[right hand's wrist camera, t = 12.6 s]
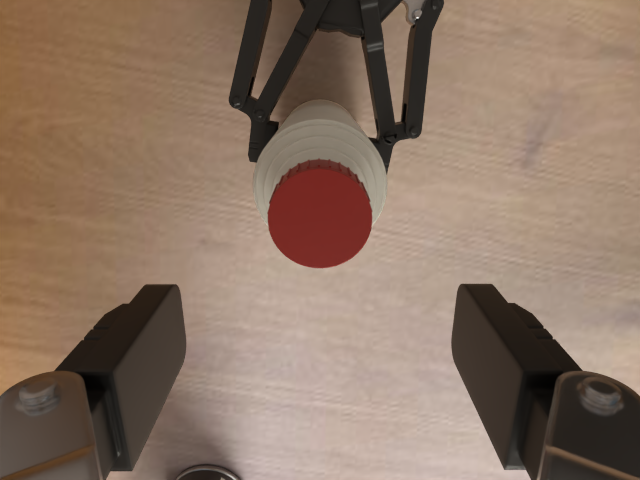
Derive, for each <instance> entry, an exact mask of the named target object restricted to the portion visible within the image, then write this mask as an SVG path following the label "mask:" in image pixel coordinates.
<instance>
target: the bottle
mask: <svg viewBox="0 0 640 480" xmlns="http://www.w3.org/2000/svg"><path fill="white" fill-rule="evenodd" d="M318 158H320V159H322V160H329V159H330V160H331V161H334V162H337V163H339V162H340V163H341V164H342V165H344V166H345V167H347V168H348V167H349V168H350V170H351V171H352V172H353V173H354V174H357V176H358V178H359V180H360V181H361V182H363V184H364V187H365V189H366V191H367V193H368V196H369V198H370V201H371V202H370V205H371V208H372V211H373V212H372V226H373V225H374V223H375V222H376V220H377V219H378V217H379V215H380V213H381V211H382V209H383V206H384V203H385V199H386V195H387V175H386V170H385V166H384V163H383V160H382V158H381V156H380V154H379V152H378V151H377V149H376V148H375V146H374V145H373V143H372V142H371V141H370V140H369V138H368V137H367V136H366V134H365V133H364V132H363V130H362V129H361V128H360V126H359V125H358V124H357V122H356V121H355V120H354V118H353V117H352V116H351V114H350V113H349V112H348V111H347V110H346V109H345V108H344V107H342V106H341V105H339V104H337V103H335V102H333V101H329V100H324V99H317V100H311V101H307V102H305V103H303V104H301V105H299V106H298V107H296V108H295V109H294V110H293V111H292V112H291V113H290V115H289V116H288V117H287V119H286V120H285V121H284V122H283V124H282V125H281V126H280V128H279V129H278V130H277V132H276V133H275V134H274V136H273V137H272V138H271V140H270V141H269V142H268V144H267V145H266V146H265V148H264V149H263V151H262V152H261V154H260V156H259V158H258V161H257V163H256V166H255V170H254V175H253V194H254V200H255V203H256V206H257V209H258V211H259V213H260V216H261V217H262V219H263V220H264V222H265V223H266V225H267V226H268V214H267V212H268V209H269V206H270V204H269V201H270V199H271V196H272V194H273V191H274V189H275V186H276V184H278V183H279V181H280V179H281V176H282V175H283V176H284V175H285V174H286V173H287V172H288V170H289V169H290V168H291V169H292V168H293V167H295V166H296V165H297V164H298V163H303V162H306V161H308V160H317V159H318Z"/></svg>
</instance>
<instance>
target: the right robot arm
mask: <svg viewBox="0 0 640 480" xmlns="http://www.w3.org/2000/svg"><path fill="white" fill-rule="evenodd" d="M451 343H452V355H453V359H454V362H455V365H456V367H457V369H458V371H459V373H460V376H461V378H462V380H463V382H464V384H465V386H466V388H467V391H468V393H469V395H470V397H471V399H472V401H473V403H474V406H475V408H476V410H477V412H478V414H479V416H480V418H481V421H482V423H483V425H484V427H485V429H486V431H487V433H488V436H489V438H490V440H491V442H492V444H493V446H494V448H495V451H496V453H497V455H498V457H499V459H500V461H501V464H502V466H503V468H504V470H526V471H527V472H528V474H529V476H530V478H531V480H640V396H639V395H638V394H637V393H636V392H635V391H633V390H632V389H631V388H629V387H628V386H626V385H624V384H623V383H621V382H619V381H617V380H615V379H612V378H610V377H608V376H604V375H601V374H598V373H593V372H587V371H583V370H582V369H581V368H580V367H579V366H578V365H577V364H576V363H575V361H574V360H573V359H572V358H571V357H570V356H569V355H568V354H567V352H566V351H565V350H564V349H563V348H562V347H561V346H560V344H559V343H558V342H557V341H556V340H555V339H553V337H552V335H551V334H550V333H549V332H548V331H547V330H546V329H544V328H543V325H542V324H541V323H540V322H539V321H538V320H537V319H536V317H535V316H534V315H533V314H532V313H530V312H528V311H527V310H525V309H523V308H522V307H520V306H518V305H517V304H515V303H508V302H507V301H506V300H505V299H504V298H503V296H502V295H501V294H500V293H499V291H498V290H497V289H496V288H495V287H494V285H492V284H461V285H460V286H459V288H458V291H457V298H456V306H455V314H454V323H453V331H452V342H451ZM185 353H186V334H185V326H184V318H183V310H182V302H181V294H180V290H179V287H178V286H177V285H176V284H147V285H144V286H143V288H142V289H141V290H140V291H139V292H138V294H137V295H136V296H135V297H134V298H133V300H132V301H131V302H130V303H129V304H122V305H120V306H118V307H117V308H115V309H113V310H112V311H110V312H108V313H106V314H105V315H104V316H103V317H102V318H101V319H100V320H99V322H98V323H97V324H96V325H95V326H94V329H93V330H90V332H89V333H88V334H87V335H86V336H85V337H84V340H82V341H81V342H80V343H79V344H78V345H77V346H76V347H75V348H74V349H73V351H72V352H71V353H70V354H69V355H68V356H67V357H66V358H65V359H64V361H63V362H62V363H61V364H60V365H59V366H58V367H57V368H56V370H55V371H53V372H47V373H42V374H39V375H36V376H32V377H30V378H28V379H25V380H23V381H21V382H19V383H17V384H16V385H14V386H12V387H11V388H9V389H8V390H7V391H5V392H4V393H3V394H2V395H1V396H0V480H106V478H107V476H108V474H109V473H110V471H132V470H133V468H134V466H135V464H136V462H137V460H138V458H139V456H140V454H141V451H142V449H143V447H144V445H145V443H146V441H147V439H148V437H149V435H150V432H151V430H152V428H153V426H154V424H155V422H156V420H157V418H158V415H159V413H160V411H161V409H162V407H163V405H164V403H165V401H166V399H167V396H168V394H169V392H170V390H171V388H172V386H173V384H174V382H175V380H176V377H177V375H178V373H179V371H180V369H181V367H182V365H183V362H184V359H185ZM175 480H240V479H239V478H238V477H237V476H236V475H235V474H233V473H232V472H230V471H228V470H226V469H224V468H221V467H218V466H212V465H200V466H195V467H191V468H189V469H187V470H185V471H183V472H182V473H181V474H179V475H178V477H177V478H176V479H175Z"/></svg>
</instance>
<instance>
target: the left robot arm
mask: <svg viewBox="0 0 640 480" xmlns="http://www.w3.org/2000/svg"><path fill="white" fill-rule="evenodd" d="M300 3H301V5H302V7H303V9H304V11H303V13H302V15H301V17H300V19H299V21H298V23H297V25H296V27H295V29H294V32H293V34H292V36H291V37H290V39H289V41H288V43H287V45H286V47H285V49H284V51H283V53H282V55H281V57H280V58H279V60H278V62H277V64H276V66H275V68H274V70H273V72H272V74H271V76H270V78H269V79H268V81H267V83H266V85H265V87H264V89H263V91H262V93H261V95H260V97H259V99H256V98H254V97H252V96H251V93H252V89H253V85H254V81H255V77H256V72H257V68H258V64H259V60H260V56H261V52H262V48H263V44H264V39H265V35H266V31H267V27H268V23H269V19H270V14H271V9H272V0H251V3H250V7H249V12H248V16H247V20H246V25H245V29H244V34H243V38H242V43H241V47H240V51H239V56H238V60H237V65H236V69H235V74H234V78H233V82H232V87H231V91H230V96H229V103H230V105H231V106H232V107H233V108H235V109H239V110H240V111H242V112H244V113H246V114H247V115H248V116H249V117H250V119H251V133H250V143H249V152H248V156H249V160H250V162H256V163H257V161H258V158H259V156H260V154H261V152H262V151H263V149H264V148H265V146H266V145H267V144H268V142H269V141H270V140H271V138H272V137H273V136H274V134H275V133H276V132H277V130H278V126H279V122H275V121H270V115H271V113H272V111H273V109H274V107H275V106H276V104H277V102H278V100H279V98H280V96H281V94H282V93H283V91H284V89H285V87H286V85H287V83H288V81H289V80H290V78H291V76H292V74H293V72H294V70H295V68H296V67H297V65H298V63H299V61H300V59H301V57H302V55H303V54H304V52H305V50H306V48H307V46H308V44H309V43H310V41H311V39H312V38H313V36H314V34H315V32H316V30H317V29H319V31H323V32H328V33H329V32H338V31H339V32H342V33H344V34H346V35H348V36H350V37H356V38H360V37H361V43H362V48H363V52H364V57H365V63H366V69H367V75H368V81H369V87H370V93H371V99H372V105H373V111H374V117H375V123H376V129H377V138H376V139H375V138H370V137H368V138H369V140H370V141H371V142H372V143H373V145H374V146H375V148H376V149H377V151H378V152H379V154H380V156H381V158H382V160H383V163H384V166H385V170H386V175H387V171H388V167H389V162H390V158H391V153H392V149H393V146H394V144H395V143H396V142H398V141H400V140H404V139H409V138H412V139H414V138H417V137H419V135H420V134H421V131H422V121H423V112H424V103H425V93H426V84H427V75H428V65H429V56H430V46H431V37H432V31H433V28H434V26H435V24H436V22H437V19H438V17H439V15H440V13H441V10H442V8H443V5H444V0H300ZM400 3H403V4H404V5H405V7H406V21H407V23H408V24H410V25H412V26H411V29H410V33H409V38H408V48H407V59H406V70H405V81H404V92H403V103H402V114H401V122H396V123H395V121H394V114H393V107H392V101H391V94H390V87H389V81H388V74H387V67H386V61H385V54H384V41H383V34H382V27H381V22H382V21H383V20H384V19H385V18H386V17H387V16H388V15H389V14H390V13H391V12H392V11H393V10H394V9H395V8H396V7H397V6H398V5H399V4H400Z"/></svg>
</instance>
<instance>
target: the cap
mask: <svg viewBox="0 0 640 480" xmlns="http://www.w3.org/2000/svg"><path fill="white" fill-rule="evenodd" d="M370 202H371V201H370V198H369V196H368V193H367V191H366V189H365V187H364V184H363V182H361V181H360V180H359V178H358V176H357V174H354V173H353V172H352V171H351V170H350V168H349V167H348V168H347V167H345V166H344V165H342V164H341V163H340V162H339V163H337V162H334V161H331V160H330V159H329V160H322V159H320V158H318V159H317V160H308V161H306V162H303V163H298V164H297V165H296V166H295V167H293V168H292V169H291V168H290V169H289V170H288V172H287V173H286V174H285V175H284V176H283V175H282V176H281V179H280V181H279V183H278V184H276V186H275V189H274V191H273V194H272V196H271V199H270V201H269V204H270V206H269V209H268V212H267V214H268V227H269V231H270V234H271V237H272V239H273V241H274V243H275V244H276V246H277V247H278V249H279V250H280V251H281V252H282V253H283V254H284V255H285V256H286V257H288V258H289V259H290V260H292V261H294V262H296V263H298V264H300V265H303V266H307V267H311V268H329V267H334V266H337V265H340V264H342V263H344V262H346V261H348V260H349V259H351V258H352V257H354V256H355V255H356V254H357V253H358V252H359V251H360V250H361V249H362V247H363V246H364V244H365V243H366V241H367V239H368V237H369V234H370V231H371V227H372V212H373V211H372V208H371V205H370Z"/></svg>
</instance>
